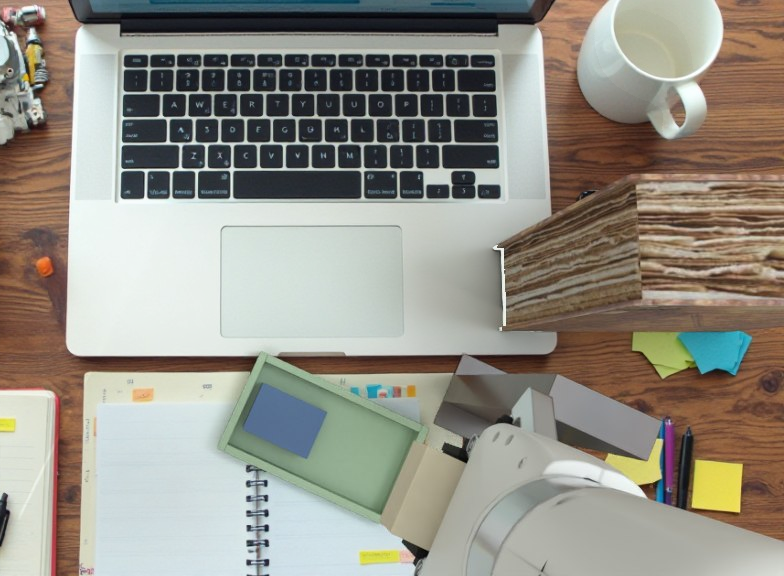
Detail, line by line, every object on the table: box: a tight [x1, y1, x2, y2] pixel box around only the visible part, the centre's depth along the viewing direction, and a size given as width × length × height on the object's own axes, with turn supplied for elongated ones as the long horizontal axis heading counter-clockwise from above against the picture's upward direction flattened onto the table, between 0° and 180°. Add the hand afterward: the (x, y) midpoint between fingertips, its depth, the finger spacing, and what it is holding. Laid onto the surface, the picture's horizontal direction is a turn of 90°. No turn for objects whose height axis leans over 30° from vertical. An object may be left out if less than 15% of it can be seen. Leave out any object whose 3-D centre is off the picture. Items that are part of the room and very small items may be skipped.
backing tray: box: [216, 351, 430, 527], centre depth 78 cm, size 19×11×3 cm, turn 65°
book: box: [496, 173, 784, 333], centre depth 68 cm, size 25×9×30 cm, turn 90°
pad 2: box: [380, 440, 466, 551], centre depth 42 cm, size 7×5×4 cm
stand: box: [433, 353, 664, 462], centre depth 67 cm, size 8×8×28 cm
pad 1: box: [242, 383, 327, 459], centre depth 77 cm, size 7×5×4 cm
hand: (447, 502), depth 45 cm, fingers closed on pad 2, 5 cm apart
